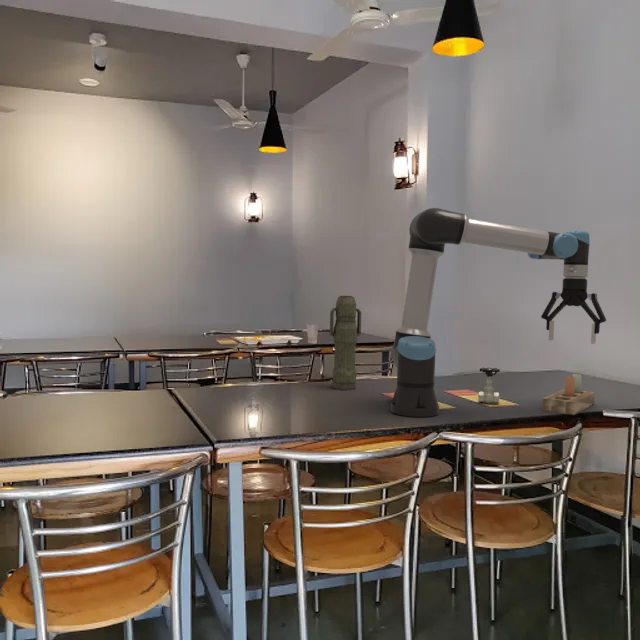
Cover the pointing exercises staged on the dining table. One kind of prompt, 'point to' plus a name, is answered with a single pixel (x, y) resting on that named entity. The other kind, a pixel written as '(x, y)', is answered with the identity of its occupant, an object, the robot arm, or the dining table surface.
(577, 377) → the sage peg
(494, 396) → the valve
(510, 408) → the dining table surface
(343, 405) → the dining table surface
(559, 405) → the beech block
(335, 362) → the thermos
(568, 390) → the terracotta peg
